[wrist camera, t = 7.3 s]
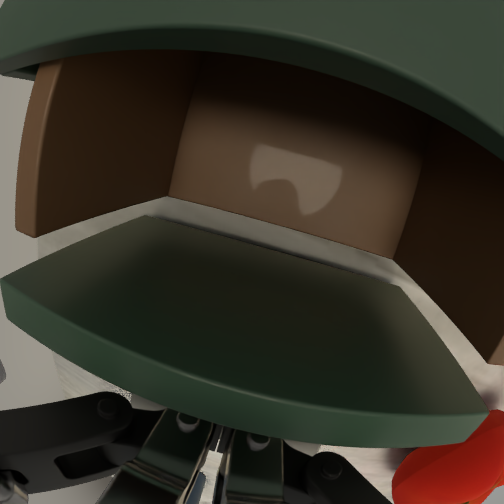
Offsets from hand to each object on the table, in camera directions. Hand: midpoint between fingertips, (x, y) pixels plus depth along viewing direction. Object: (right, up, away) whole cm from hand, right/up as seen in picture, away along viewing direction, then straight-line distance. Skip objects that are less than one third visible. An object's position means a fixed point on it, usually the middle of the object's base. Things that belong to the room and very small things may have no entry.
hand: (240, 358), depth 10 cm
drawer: (+2, +7, +1) cm, 7 cm away
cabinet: (+4, +15, -1) cm, 16 cm away
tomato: (+18, -13, +6) cm, 23 cm away
